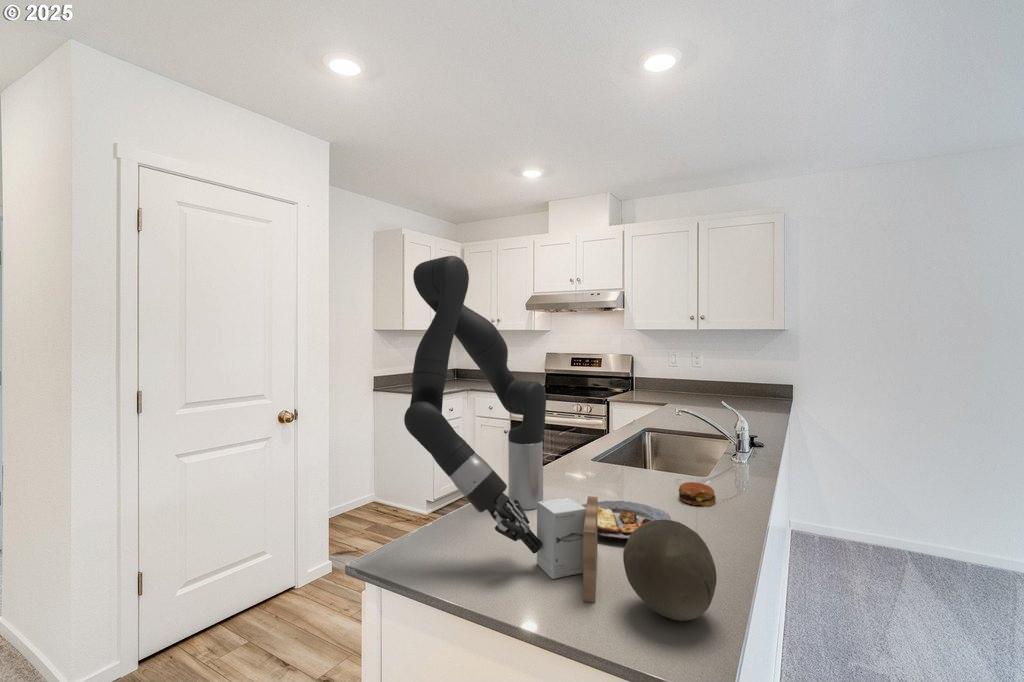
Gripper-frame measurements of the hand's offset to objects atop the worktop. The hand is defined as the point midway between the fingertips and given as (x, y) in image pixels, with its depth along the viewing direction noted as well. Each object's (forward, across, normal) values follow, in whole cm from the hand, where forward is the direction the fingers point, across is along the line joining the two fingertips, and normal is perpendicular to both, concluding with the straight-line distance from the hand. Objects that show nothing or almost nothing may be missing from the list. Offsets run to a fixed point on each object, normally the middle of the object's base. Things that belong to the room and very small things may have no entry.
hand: (538, 549), depth 96 cm
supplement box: (+6, +2, 0) cm, 6 cm away
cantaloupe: (+19, -11, -13) cm, 26 cm away
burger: (+29, +48, -23) cm, 61 cm away
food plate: (+15, +27, -8) cm, 32 cm away
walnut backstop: (+10, 0, -4) cm, 11 cm away
